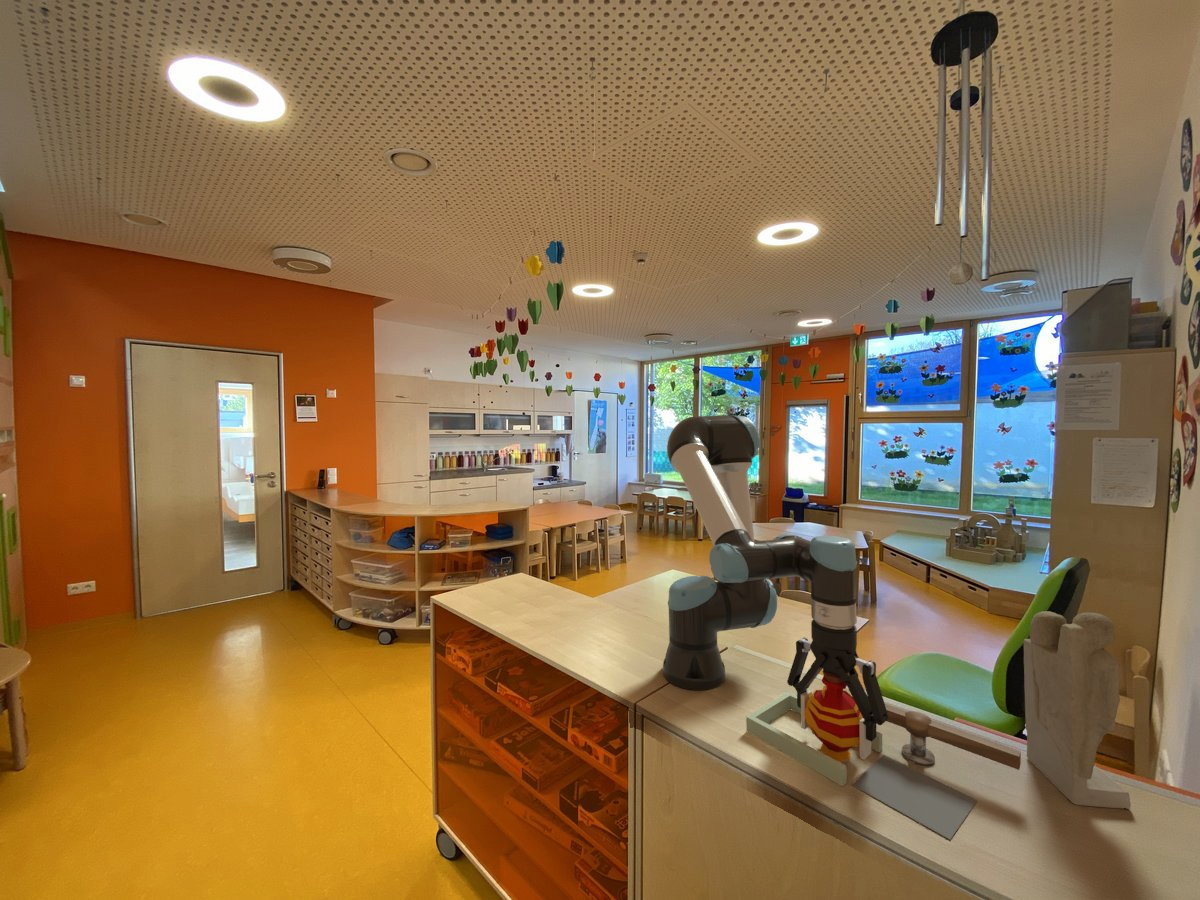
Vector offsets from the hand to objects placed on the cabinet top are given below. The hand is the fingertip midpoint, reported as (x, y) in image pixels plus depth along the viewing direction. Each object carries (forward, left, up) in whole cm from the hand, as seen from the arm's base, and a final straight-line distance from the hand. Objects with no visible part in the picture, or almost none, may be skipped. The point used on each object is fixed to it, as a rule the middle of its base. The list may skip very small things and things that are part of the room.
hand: (834, 739), depth 89 cm
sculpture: (+29, +22, -3) cm, 37 cm away
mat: (+13, 0, -2) cm, 13 cm away
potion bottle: (0, 0, -3) cm, 3 cm away
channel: (-4, 0, -2) cm, 4 cm away
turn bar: (+12, +11, +2) cm, 17 cm away
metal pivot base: (+10, +10, -2) cm, 15 cm away
